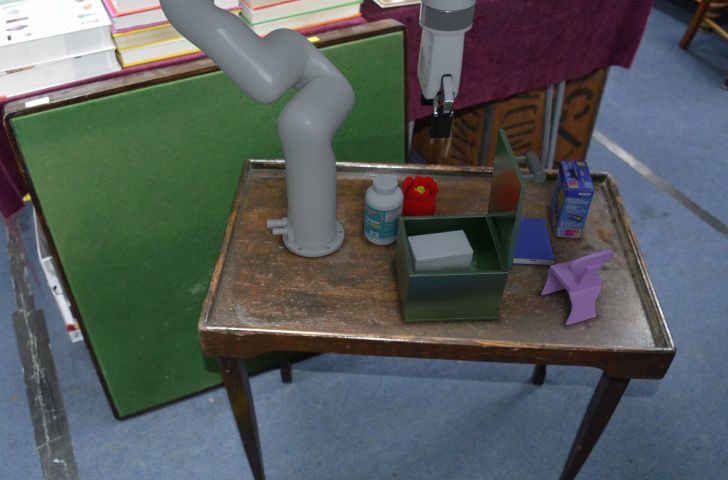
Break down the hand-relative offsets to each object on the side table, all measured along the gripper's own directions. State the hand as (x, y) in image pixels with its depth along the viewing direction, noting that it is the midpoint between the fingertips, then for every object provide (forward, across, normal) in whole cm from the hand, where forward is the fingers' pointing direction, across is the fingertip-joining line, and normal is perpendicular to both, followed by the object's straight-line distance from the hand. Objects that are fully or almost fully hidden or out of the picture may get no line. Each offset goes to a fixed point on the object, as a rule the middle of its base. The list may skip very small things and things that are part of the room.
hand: (434, 120), depth 105 cm
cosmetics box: (+32, +6, +2) cm, 32 cm away
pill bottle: (+32, -10, -6) cm, 35 cm away
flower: (+32, -16, +2) cm, 36 cm away
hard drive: (+32, -6, +23) cm, 40 cm away
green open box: (+32, +6, +4) cm, 33 cm away
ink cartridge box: (+32, -12, +32) cm, 47 cm away
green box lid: (+11, +6, +11) cm, 17 cm away
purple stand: (+32, +11, +26) cm, 43 cm away
